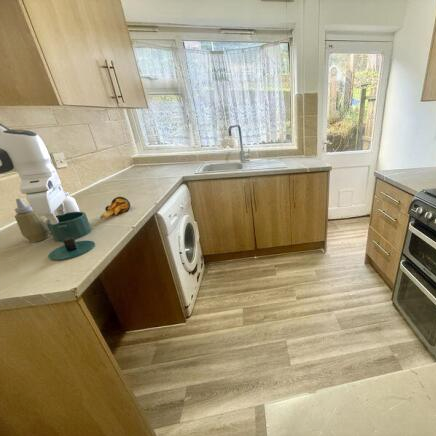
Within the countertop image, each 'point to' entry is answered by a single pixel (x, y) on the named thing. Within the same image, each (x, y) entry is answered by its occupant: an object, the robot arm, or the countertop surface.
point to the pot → (69, 226)
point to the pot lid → (71, 249)
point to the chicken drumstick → (117, 207)
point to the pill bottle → (69, 204)
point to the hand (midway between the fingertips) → (59, 218)
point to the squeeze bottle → (30, 223)
